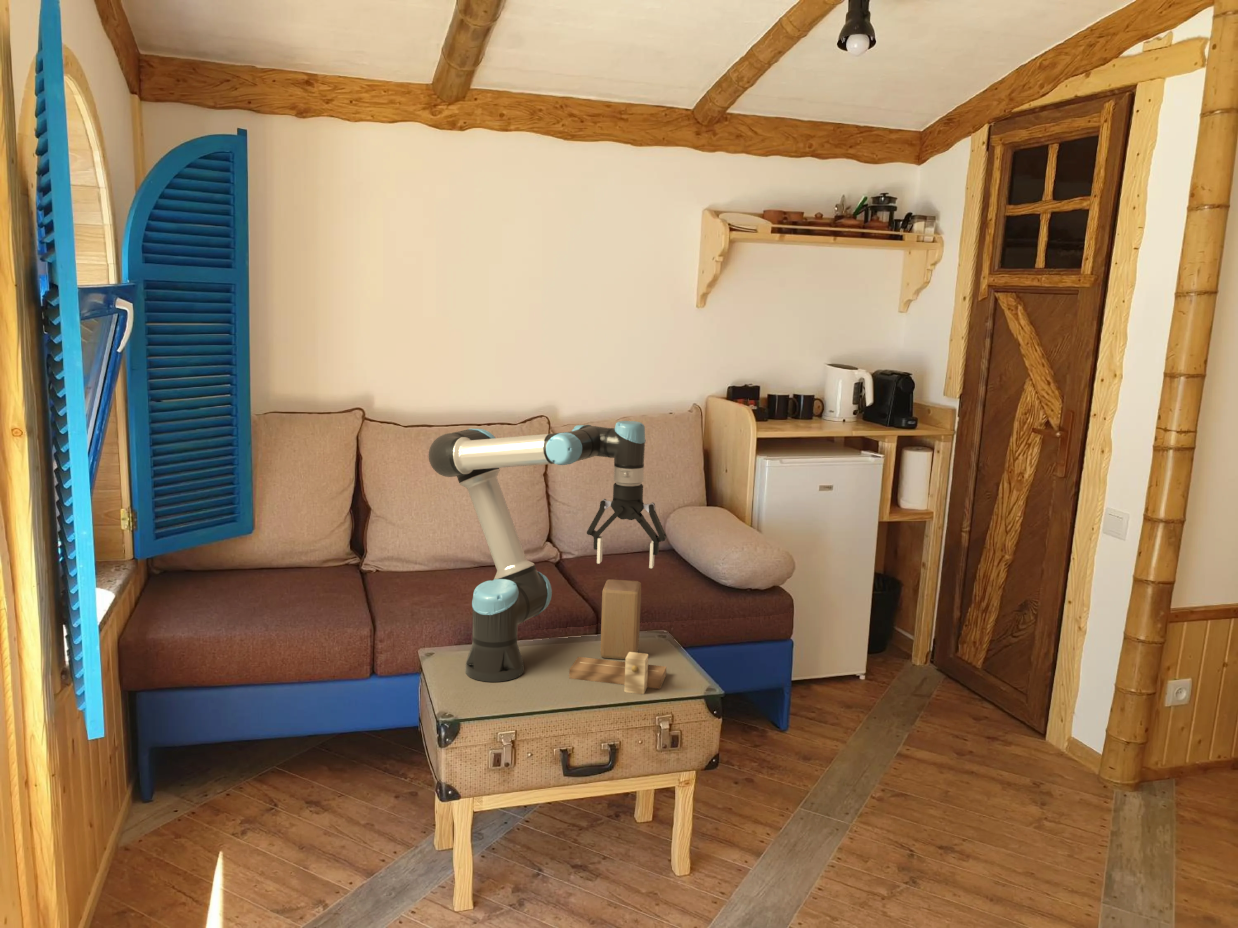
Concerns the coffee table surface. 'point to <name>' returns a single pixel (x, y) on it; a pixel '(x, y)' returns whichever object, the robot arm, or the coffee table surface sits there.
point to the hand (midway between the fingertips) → (625, 564)
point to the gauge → (636, 672)
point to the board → (612, 672)
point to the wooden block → (620, 618)
